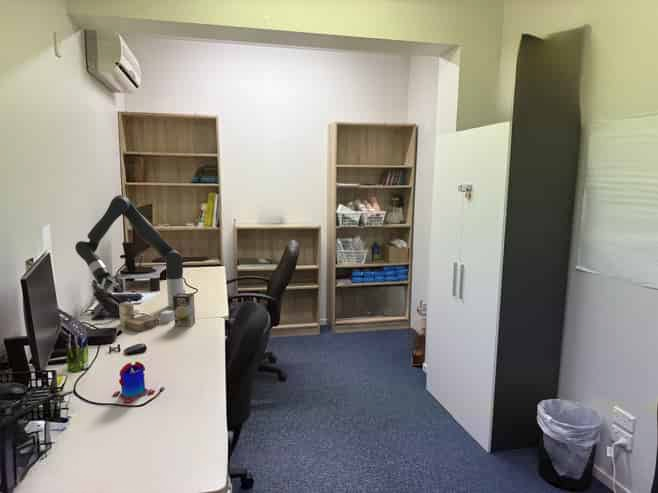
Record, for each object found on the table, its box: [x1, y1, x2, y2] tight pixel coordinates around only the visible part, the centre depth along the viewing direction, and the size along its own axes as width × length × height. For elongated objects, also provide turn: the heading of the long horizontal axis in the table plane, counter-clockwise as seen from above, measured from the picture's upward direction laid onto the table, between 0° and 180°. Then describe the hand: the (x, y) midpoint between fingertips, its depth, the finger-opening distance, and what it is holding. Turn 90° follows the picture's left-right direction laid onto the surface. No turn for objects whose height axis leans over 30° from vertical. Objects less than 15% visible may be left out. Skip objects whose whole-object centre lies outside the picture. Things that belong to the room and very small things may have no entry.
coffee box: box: [173, 292, 196, 327], centre depth 232 cm, size 9×6×16 cm
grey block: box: [159, 309, 175, 323], centre depth 239 cm, size 5×5×5 cm
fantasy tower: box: [111, 361, 156, 405], centre depth 158 cm, size 12×12×12 cm
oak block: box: [118, 301, 135, 326], centre depth 234 cm, size 5×5×11 cm
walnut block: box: [123, 314, 158, 333], centre depth 229 cm, size 11×11×4 cm
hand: (113, 293), depth 239 cm, fingers open, 8 cm apart
